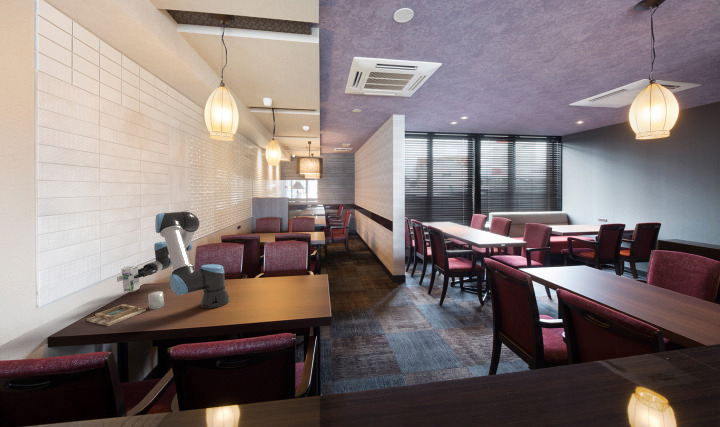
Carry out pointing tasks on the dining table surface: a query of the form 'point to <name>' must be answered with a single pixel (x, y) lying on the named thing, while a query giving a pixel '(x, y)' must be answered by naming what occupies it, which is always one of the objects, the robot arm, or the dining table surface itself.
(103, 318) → the wooden square frame
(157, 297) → the white rounded cylinder
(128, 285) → the syrup box
